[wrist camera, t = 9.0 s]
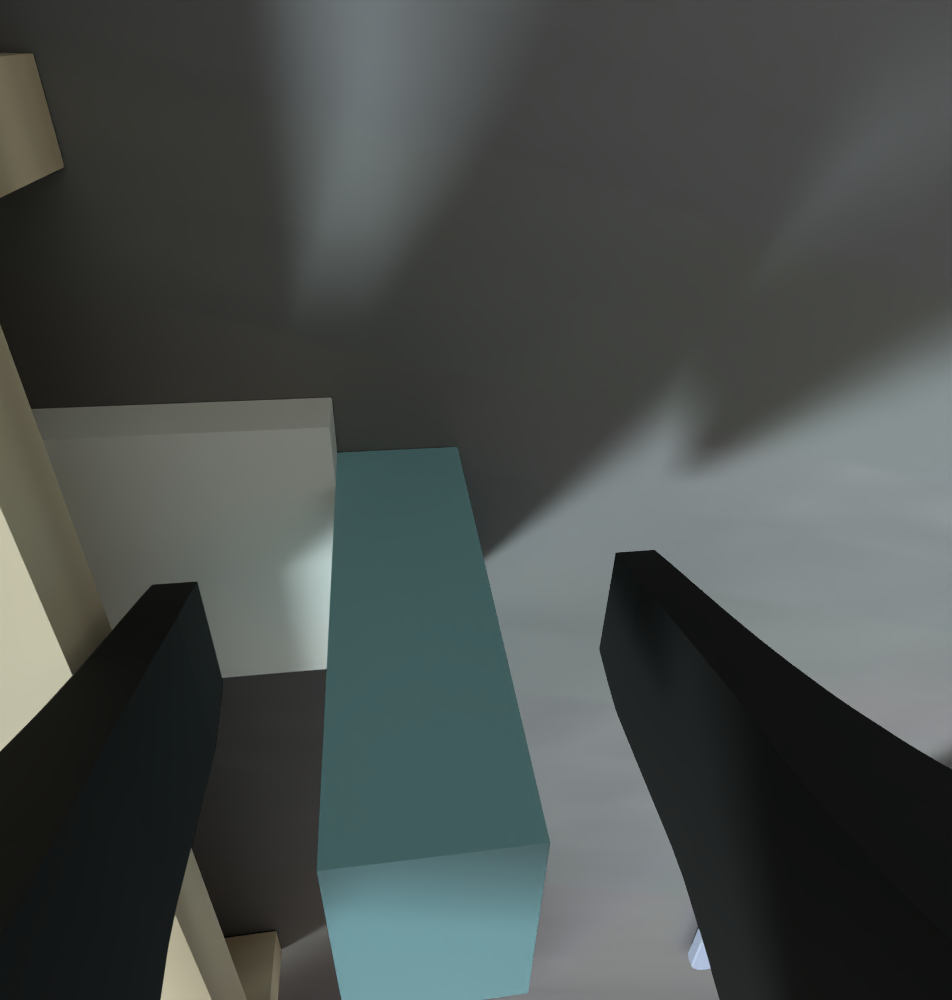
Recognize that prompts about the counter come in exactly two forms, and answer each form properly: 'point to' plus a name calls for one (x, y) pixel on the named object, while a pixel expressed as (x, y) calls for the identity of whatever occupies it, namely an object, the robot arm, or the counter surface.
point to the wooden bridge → (78, 590)
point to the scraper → (342, 661)
